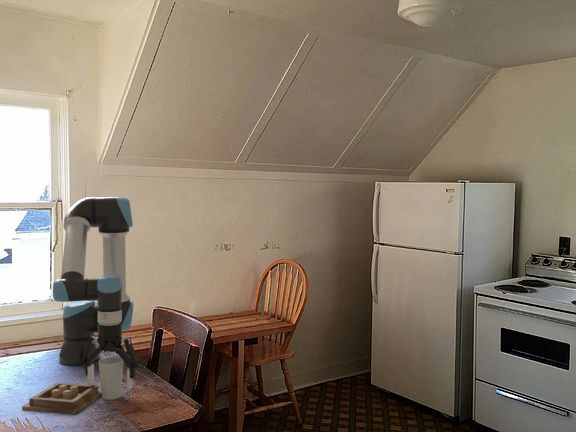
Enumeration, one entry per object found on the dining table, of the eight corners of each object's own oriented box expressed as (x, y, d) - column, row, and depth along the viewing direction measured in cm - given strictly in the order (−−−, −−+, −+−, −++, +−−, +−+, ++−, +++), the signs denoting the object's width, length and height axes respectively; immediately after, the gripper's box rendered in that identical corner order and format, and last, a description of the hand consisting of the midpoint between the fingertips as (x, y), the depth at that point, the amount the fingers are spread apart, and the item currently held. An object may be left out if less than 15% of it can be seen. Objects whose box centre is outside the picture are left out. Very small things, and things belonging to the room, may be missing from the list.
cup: (116, 401, 185) (116, 364, 185) (94, 399, 187) (93, 363, 186) (128, 392, 193) (128, 357, 192) (106, 390, 195) (106, 355, 194)
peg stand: (55, 389, 196) (55, 377, 196) (104, 393, 193) (104, 381, 192) (22, 409, 178) (21, 396, 178) (75, 414, 175) (75, 401, 175)
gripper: (68, 323, 187) (69, 387, 188) (140, 327, 183) (141, 393, 184) (80, 318, 195) (81, 380, 196) (150, 322, 190) (151, 385, 191)
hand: (110, 387), depth 190 cm, fingers open, 13 cm apart
